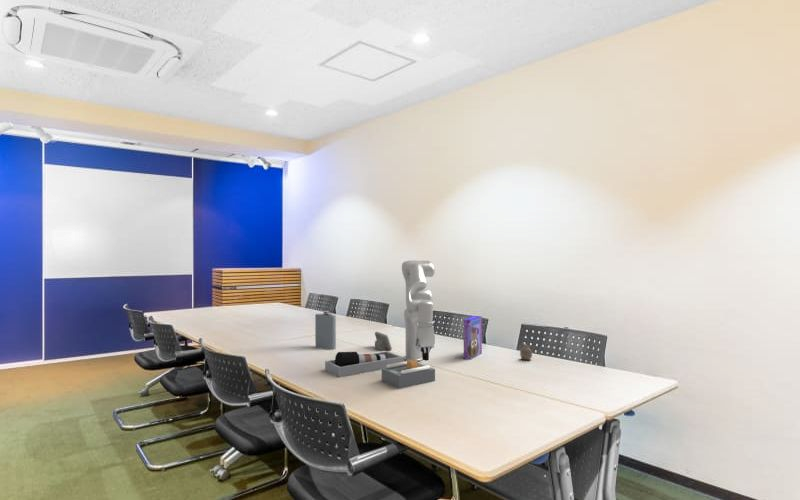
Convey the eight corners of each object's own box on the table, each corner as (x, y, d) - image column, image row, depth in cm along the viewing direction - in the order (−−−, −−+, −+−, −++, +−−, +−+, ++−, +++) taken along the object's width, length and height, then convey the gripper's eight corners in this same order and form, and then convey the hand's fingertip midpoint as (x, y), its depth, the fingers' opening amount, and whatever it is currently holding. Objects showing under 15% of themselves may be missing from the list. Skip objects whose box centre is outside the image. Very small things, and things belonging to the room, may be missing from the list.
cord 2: (428, 368, 229) (428, 364, 229) (431, 369, 227) (431, 365, 227) (399, 374, 219) (399, 370, 219) (402, 375, 217) (402, 371, 217)
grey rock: (392, 350, 295) (392, 334, 295) (379, 352, 292) (379, 335, 292) (385, 345, 310) (385, 330, 310) (372, 346, 307) (372, 331, 307)
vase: (525, 361, 266) (525, 346, 266) (517, 359, 272) (517, 344, 272) (534, 360, 269) (534, 345, 269) (526, 357, 275) (526, 343, 275)
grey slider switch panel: (416, 373, 241) (416, 362, 241) (435, 380, 228) (435, 368, 228) (381, 380, 229) (381, 368, 229) (399, 388, 216) (399, 375, 216)
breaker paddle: (413, 366, 233) (413, 359, 233) (417, 367, 229) (417, 361, 229) (406, 367, 230) (406, 360, 230) (411, 369, 227) (411, 362, 227)
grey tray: (387, 359, 272) (387, 351, 272) (403, 365, 258) (403, 356, 258) (325, 370, 249) (325, 361, 249) (338, 377, 235) (338, 367, 235)
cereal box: (470, 359, 271) (470, 319, 271) (463, 358, 274) (463, 319, 274) (481, 353, 286) (481, 316, 286) (474, 352, 288) (474, 315, 288)
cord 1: (413, 363, 240) (413, 359, 240) (416, 363, 238) (416, 360, 238) (385, 368, 230) (385, 364, 230) (387, 369, 228) (387, 365, 228)
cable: (392, 371, 261) (397, 358, 258) (339, 374, 243) (344, 359, 240) (384, 360, 269) (390, 347, 265) (333, 362, 251) (338, 348, 247)
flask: (337, 348, 302) (337, 311, 302) (333, 349, 298) (332, 312, 298) (319, 345, 312) (319, 309, 312) (314, 346, 308) (314, 310, 308)
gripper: (432, 322, 242) (432, 356, 242) (409, 325, 233) (409, 360, 233) (440, 324, 236) (441, 359, 235) (418, 327, 227) (418, 363, 227)
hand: (425, 359), depth 234 cm, fingers closed
